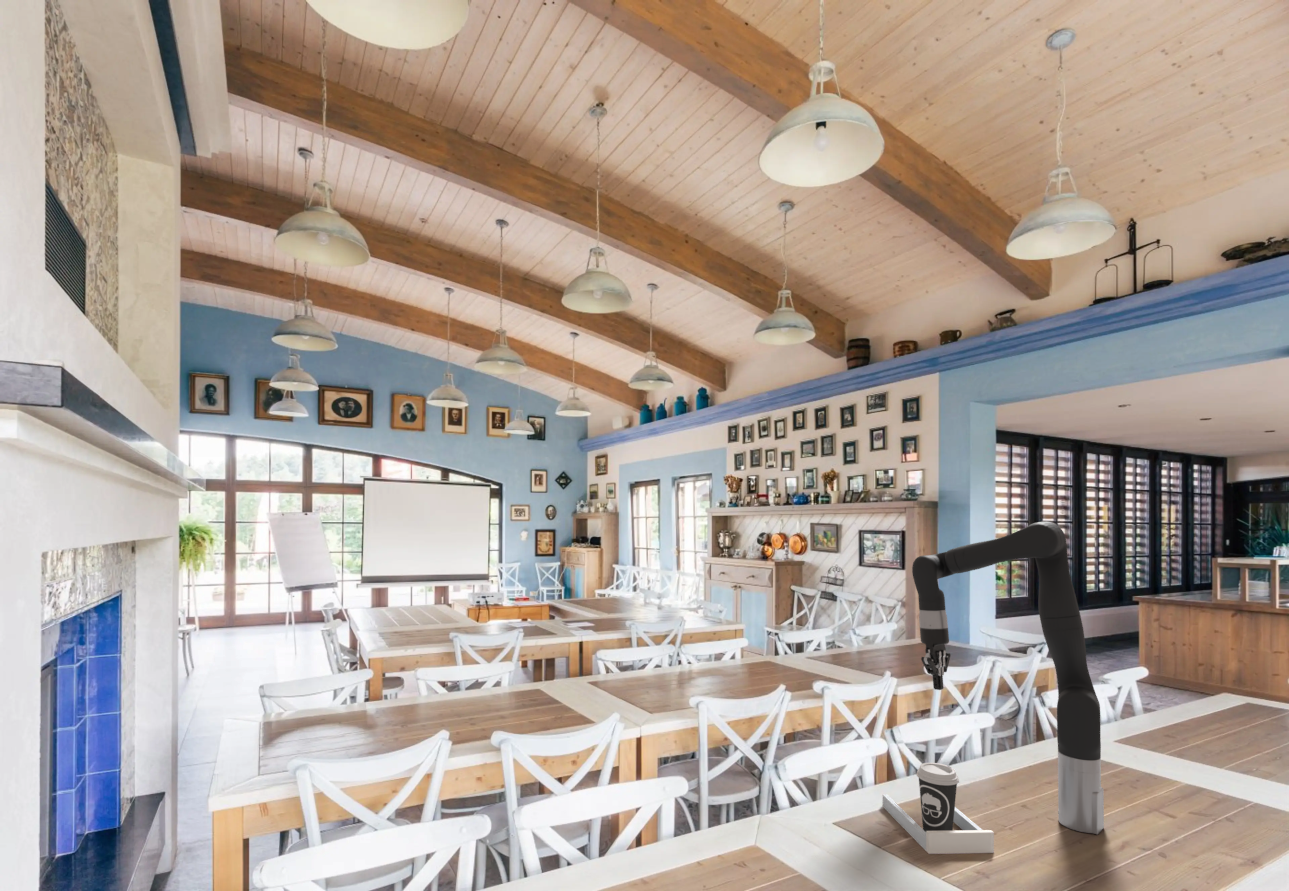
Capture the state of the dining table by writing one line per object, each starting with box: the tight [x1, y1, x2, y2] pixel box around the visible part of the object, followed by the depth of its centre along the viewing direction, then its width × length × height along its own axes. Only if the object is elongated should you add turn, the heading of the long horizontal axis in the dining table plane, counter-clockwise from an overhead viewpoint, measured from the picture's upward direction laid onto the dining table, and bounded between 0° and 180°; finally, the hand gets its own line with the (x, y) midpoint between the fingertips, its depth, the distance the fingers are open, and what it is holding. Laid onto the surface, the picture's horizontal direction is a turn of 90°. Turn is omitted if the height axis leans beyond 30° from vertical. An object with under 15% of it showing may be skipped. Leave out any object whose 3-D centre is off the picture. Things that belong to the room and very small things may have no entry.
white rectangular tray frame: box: [881, 793, 995, 855], centre depth 179 cm, size 25×15×4 cm, turn 5°
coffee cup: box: [916, 762, 960, 832], centre depth 177 cm, size 10×10×15 cm
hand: (938, 689), depth 206 cm, fingers closed
